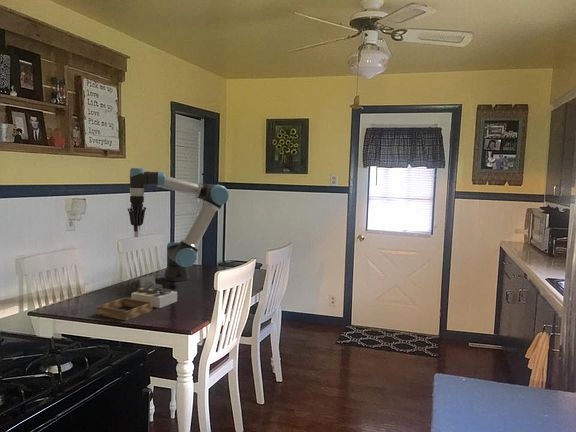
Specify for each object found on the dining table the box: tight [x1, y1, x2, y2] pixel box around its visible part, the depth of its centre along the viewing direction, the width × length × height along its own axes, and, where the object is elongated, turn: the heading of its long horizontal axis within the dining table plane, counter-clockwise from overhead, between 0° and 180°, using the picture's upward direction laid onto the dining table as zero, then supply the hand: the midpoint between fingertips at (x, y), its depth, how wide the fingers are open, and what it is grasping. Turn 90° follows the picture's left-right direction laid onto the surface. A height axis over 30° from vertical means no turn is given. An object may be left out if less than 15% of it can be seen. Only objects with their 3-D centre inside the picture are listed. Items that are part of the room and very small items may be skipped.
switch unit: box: [130, 290, 178, 309], centre depth 248 cm, size 14×18×6 cm
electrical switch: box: [137, 275, 157, 289], centre depth 267 cm, size 9×5×9 cm, turn 141°
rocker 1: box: [137, 283, 154, 293], centre depth 250 cm, size 8×4×2 cm, turn 156°
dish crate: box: [96, 297, 154, 321], centre depth 229 cm, size 18×18×4 cm
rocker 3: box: [155, 288, 172, 292], centre depth 245 cm, size 8×4×2 cm, turn 156°
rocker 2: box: [146, 283, 164, 294], centre depth 248 cm, size 8×4×2 cm, turn 156°
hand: (137, 237), depth 274 cm, fingers closed
